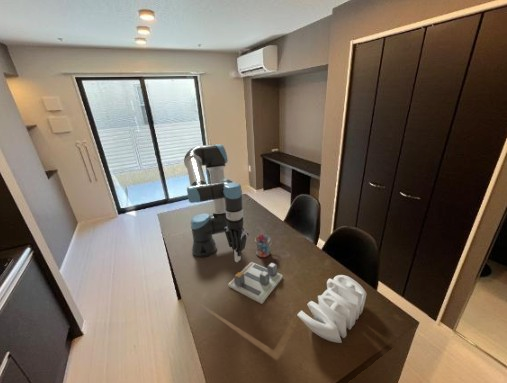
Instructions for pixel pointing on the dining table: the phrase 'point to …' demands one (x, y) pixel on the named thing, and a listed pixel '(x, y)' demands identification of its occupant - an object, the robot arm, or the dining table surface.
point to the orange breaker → (239, 279)
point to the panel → (258, 281)
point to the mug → (263, 245)
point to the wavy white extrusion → (336, 308)
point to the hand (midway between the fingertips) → (237, 260)
